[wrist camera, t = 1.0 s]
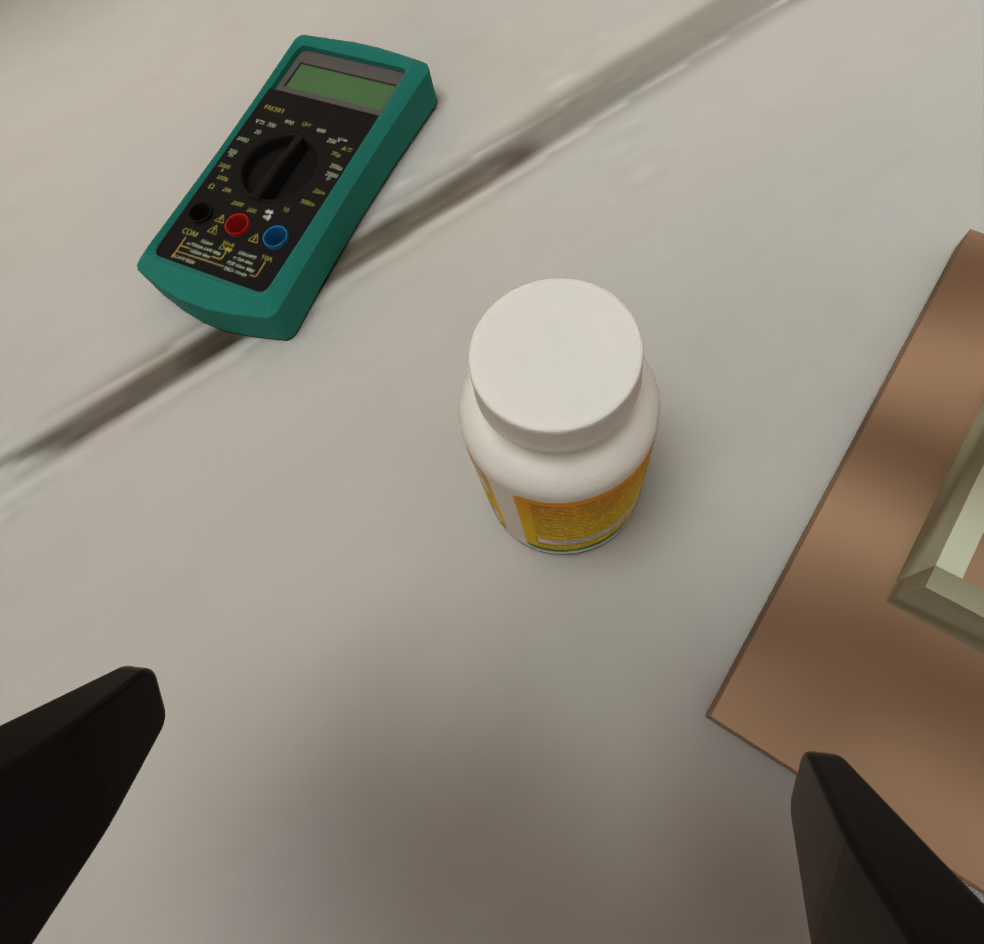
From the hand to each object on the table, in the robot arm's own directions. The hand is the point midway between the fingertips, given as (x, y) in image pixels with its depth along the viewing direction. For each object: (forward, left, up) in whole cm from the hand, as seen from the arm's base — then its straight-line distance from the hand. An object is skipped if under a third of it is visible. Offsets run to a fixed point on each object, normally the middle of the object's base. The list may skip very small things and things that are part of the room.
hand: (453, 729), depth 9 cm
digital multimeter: (+25, +1, -14) cm, 28 cm away
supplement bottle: (+7, -4, -13) cm, 16 cm away
